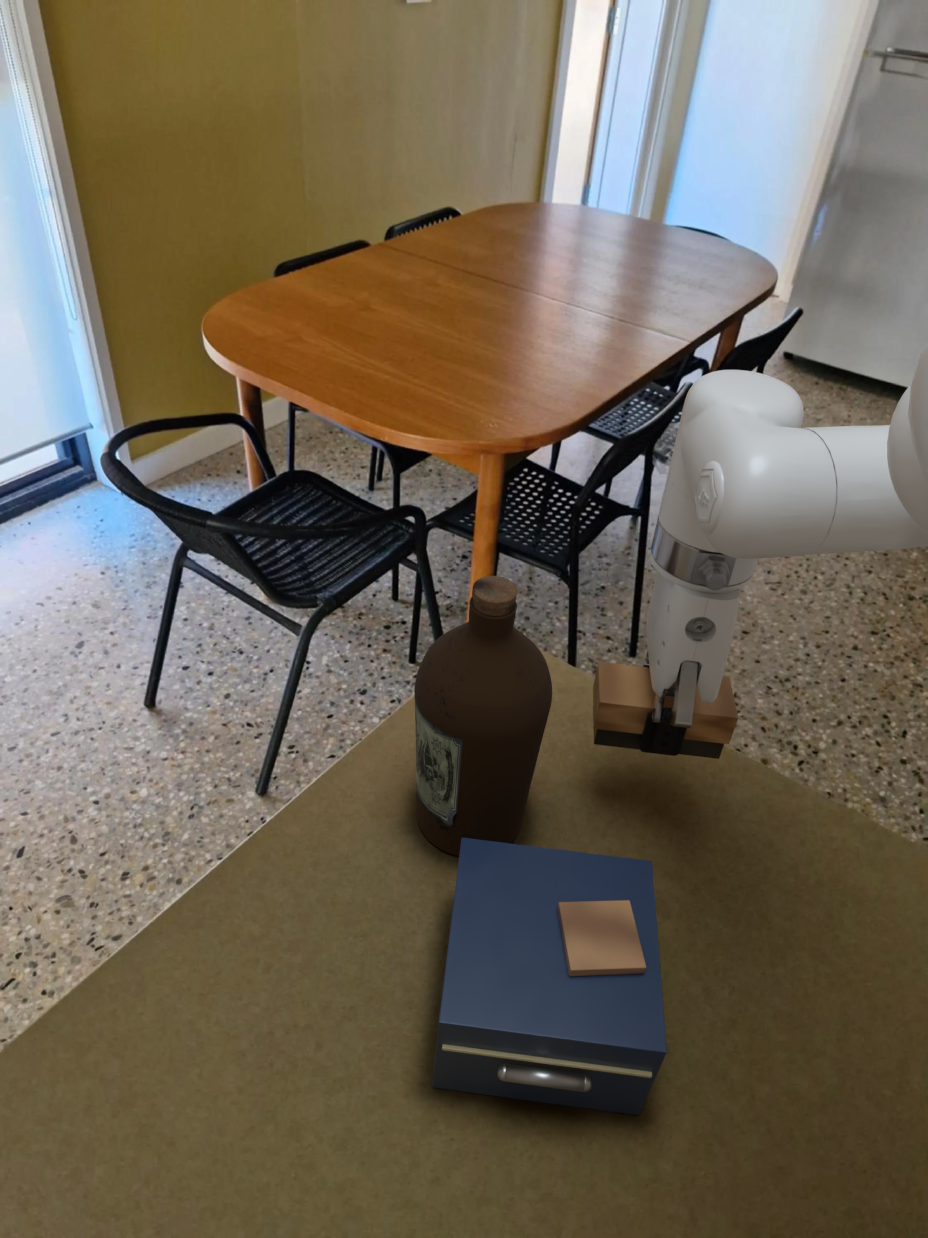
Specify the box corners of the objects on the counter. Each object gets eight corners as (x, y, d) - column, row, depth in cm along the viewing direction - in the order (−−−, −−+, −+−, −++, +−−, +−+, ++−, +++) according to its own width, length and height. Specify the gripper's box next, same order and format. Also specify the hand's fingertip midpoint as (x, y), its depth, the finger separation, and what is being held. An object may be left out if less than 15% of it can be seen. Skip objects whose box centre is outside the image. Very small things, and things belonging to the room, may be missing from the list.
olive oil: (491, 754, 84) (519, 533, 68) (552, 837, 77) (600, 612, 61) (388, 792, 79) (394, 565, 64) (444, 884, 72) (465, 654, 57)
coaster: (644, 974, 58) (646, 967, 57) (568, 977, 57) (570, 970, 57) (627, 906, 62) (629, 899, 61) (556, 908, 61) (558, 901, 61)
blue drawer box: (640, 1135, 58) (669, 1073, 53) (429, 1106, 59) (435, 1042, 53) (629, 929, 70) (652, 860, 65) (454, 907, 71) (461, 837, 65)
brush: (715, 719, 77) (729, 676, 74) (723, 761, 73) (738, 718, 70) (589, 704, 78) (598, 661, 75) (590, 746, 74) (599, 702, 71)
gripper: (779, 625, 57) (712, 810, 68) (740, 493, 70) (690, 666, 82) (662, 612, 57) (615, 799, 68) (645, 483, 71) (608, 657, 82)
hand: (656, 725), depth 75 cm, fingers closed on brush, 5 cm apart
